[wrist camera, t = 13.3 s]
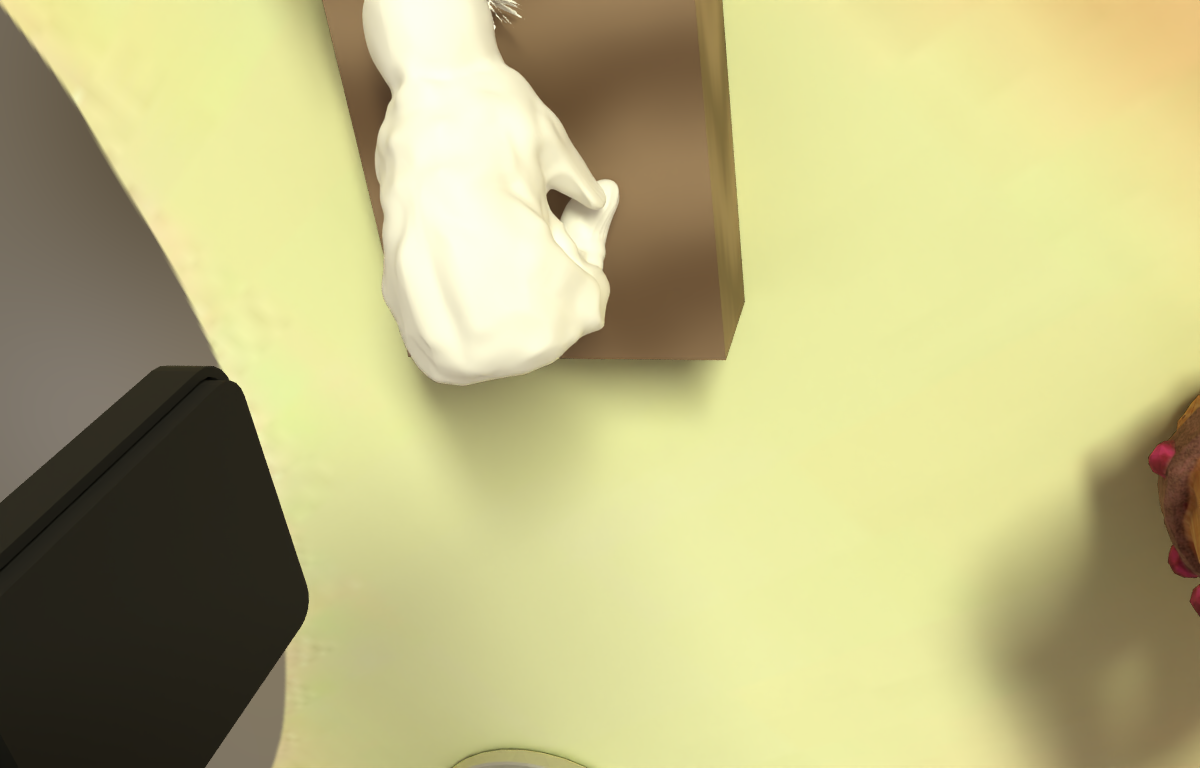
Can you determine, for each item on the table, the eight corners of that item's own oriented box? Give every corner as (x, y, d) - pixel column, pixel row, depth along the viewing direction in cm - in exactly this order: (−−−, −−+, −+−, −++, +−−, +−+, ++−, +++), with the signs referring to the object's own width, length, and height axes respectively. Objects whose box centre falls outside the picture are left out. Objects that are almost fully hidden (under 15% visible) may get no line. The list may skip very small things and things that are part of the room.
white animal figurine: (387, 428, 33) (210, 18, 29) (493, 319, 41) (364, -22, 37) (583, 390, 31) (420, -62, 27) (658, 281, 38) (539, -88, 34)
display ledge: (744, 301, 43) (711, 405, 37) (451, 302, 47) (375, 398, 40) (704, -236, 34) (651, -218, 28) (346, -187, 38) (228, -161, 32)
